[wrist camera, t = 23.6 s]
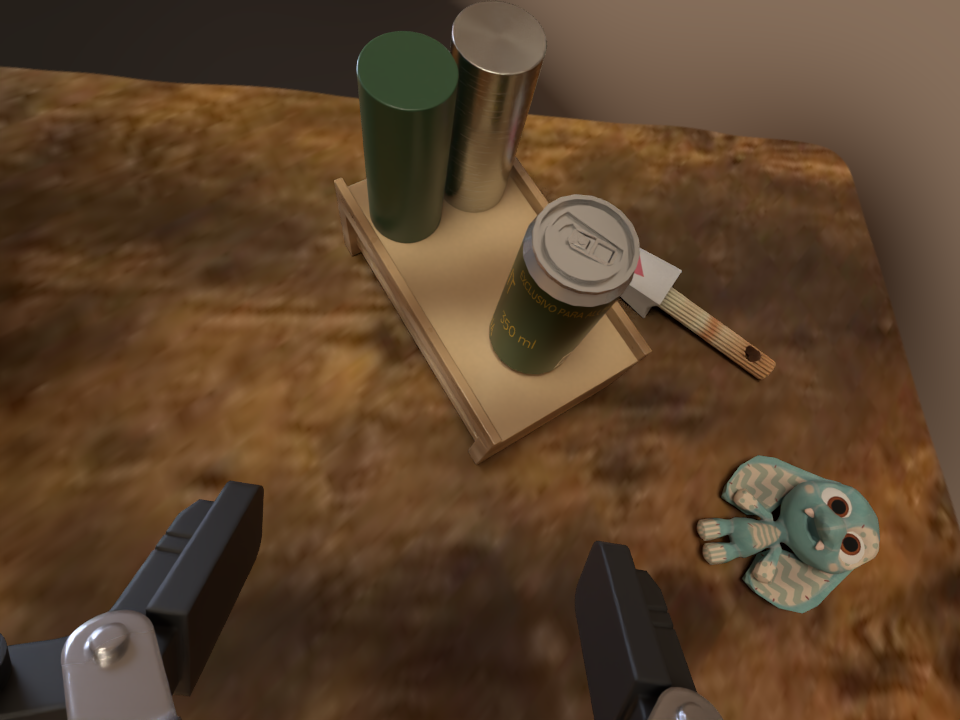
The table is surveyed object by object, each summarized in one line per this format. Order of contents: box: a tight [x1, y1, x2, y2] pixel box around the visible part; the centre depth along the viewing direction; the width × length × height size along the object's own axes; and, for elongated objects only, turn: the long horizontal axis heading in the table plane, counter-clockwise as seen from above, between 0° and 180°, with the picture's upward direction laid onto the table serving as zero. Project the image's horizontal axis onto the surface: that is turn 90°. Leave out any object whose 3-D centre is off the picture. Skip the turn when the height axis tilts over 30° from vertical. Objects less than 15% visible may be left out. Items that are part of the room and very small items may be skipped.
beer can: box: [489, 194, 640, 374], centre depth 30 cm, size 5×5×12 cm
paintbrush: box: [620, 248, 775, 380], centre depth 45 cm, size 4×3×20 cm
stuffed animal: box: [697, 455, 880, 613], centre depth 38 cm, size 11×7×12 cm
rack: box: [334, 1, 652, 465], centre depth 35 cm, size 20×12×19 cm, turn 31°
